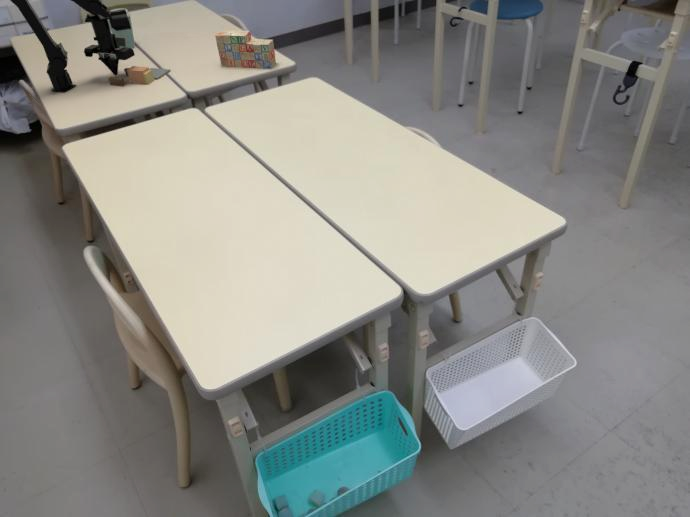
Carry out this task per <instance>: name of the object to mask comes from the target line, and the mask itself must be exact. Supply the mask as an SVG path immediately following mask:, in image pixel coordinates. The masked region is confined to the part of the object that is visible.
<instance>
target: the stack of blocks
mask: <svg viewBox="0 0 690 517" xmlns="http://www.w3.org/2000/svg"><path fill="white" fill-rule="evenodd" d="M214 35H215V37H214V38H215V40H216V42H215V43H216V46H217V51H218V55H219V60H220V65H221V67H226V68H227V67H229V68H248V69H249V68H252V69H254V68H255V69H256V68H257V69H272V68H273V66H275V65H276V63H277V60H276V53H275V52H276V51H275V45H274V39H264V38H252V36H251V35H252V34H251V31H250V30H220V31H219V32H218V33H216V34H214Z"/></svg>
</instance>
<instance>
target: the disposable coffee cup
mask: <svg viewBox="0 0 690 517" xmlns="http://www.w3.org/2000/svg"><path fill="white" fill-rule="evenodd" d="M121 9H125V10H126V13H127V16H128V18H129V21H130V25H131V29H128V30H120V31H116V30H114V28H113V29H112V27H111V24H110V21H109V19H108V23H109V27H110V30H111V33H112V34H115V37H116V38H125V44H126V48H132V49H134V48H135V46H136V45H135V43H136V42H135V38H134V32H133V31H134V30H133V26H132V20H131V13H130V12H129V10H128V9H127V8H113V9H110V11H117V10H121ZM121 48H123V46H120V48H119V49H121Z"/></svg>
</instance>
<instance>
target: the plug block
mask: <svg viewBox="0 0 690 517" xmlns="http://www.w3.org/2000/svg"><path fill="white" fill-rule="evenodd" d="M128 68H129V69H127V72H128V76H127V77H128V78H129V81H130V84H140V85H151V83H153V82H155V80H156V79H154V76H153V73H152V70H149V69H150V67H148V66H137V65H132V66H131V67H128Z"/></svg>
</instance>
